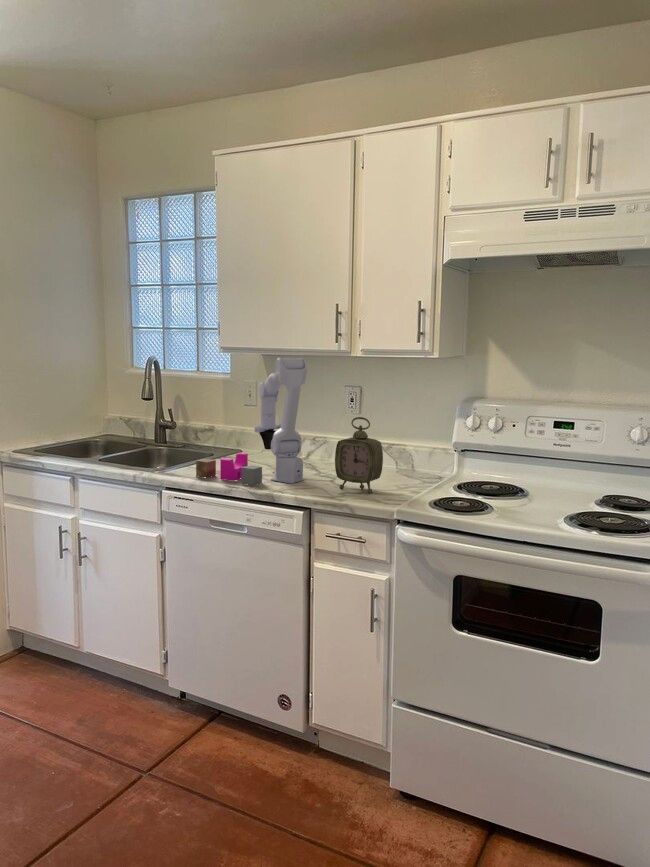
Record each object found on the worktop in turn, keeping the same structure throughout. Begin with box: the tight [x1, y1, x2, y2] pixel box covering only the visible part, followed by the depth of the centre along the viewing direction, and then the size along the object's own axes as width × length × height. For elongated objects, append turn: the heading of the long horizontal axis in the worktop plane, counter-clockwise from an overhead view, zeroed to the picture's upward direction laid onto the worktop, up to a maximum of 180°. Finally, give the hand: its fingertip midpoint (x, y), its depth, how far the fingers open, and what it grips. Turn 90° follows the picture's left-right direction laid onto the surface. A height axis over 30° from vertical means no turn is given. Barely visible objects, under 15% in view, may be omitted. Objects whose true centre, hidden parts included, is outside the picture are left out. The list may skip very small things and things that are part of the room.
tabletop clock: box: [334, 416, 384, 494], centre depth 224 cm, size 14×9×25 cm, turn 59°
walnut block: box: [195, 458, 217, 479], centre depth 242 cm, size 5×5×6 cm
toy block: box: [219, 452, 249, 481], centre depth 243 cm, size 15×6×8 cm, turn 162°
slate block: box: [241, 464, 263, 486], centre depth 231 cm, size 5×5×6 cm
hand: (267, 449), depth 255 cm, fingers closed
